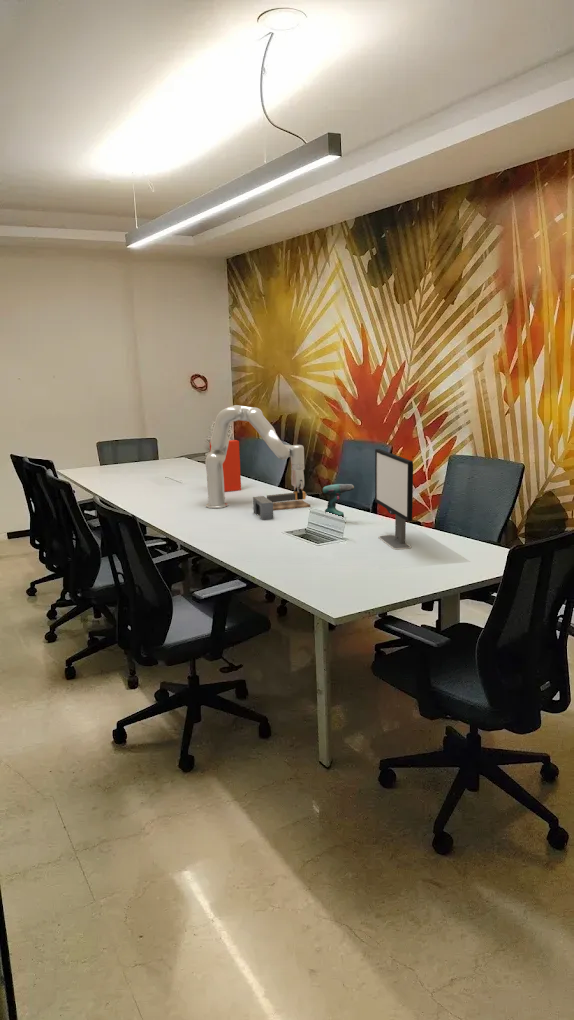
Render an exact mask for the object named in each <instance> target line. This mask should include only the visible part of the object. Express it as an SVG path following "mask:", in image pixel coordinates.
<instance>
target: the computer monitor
mask: <svg viewBox="0 0 574 1020" xmlns="http://www.w3.org/2000/svg"><path fill="white" fill-rule="evenodd" d="M374 451H375V452H374V453H375V455H374V456H375V457H374V458H375V461H374V470H375V471H374V477H375V479H374V482H375V483H374V488H375V489H374V492H375V493H374V494H375V495H374V501H375V503H376V504H378V505H380V506H381V507H383V508H384V509H386V511H387V512H388V514H390V515H395V519H394V521H395V522H394V523H395V524H394V525H395V529H394V530H395V533H394V534H387V535H386V534H385V535H379V536H378V539H379V540H380V541H382V542H383V543H384V544H386V545H387V546H388V547H390V548H391V549H393V550H397V551H398V550H407V549H411V548H412V546H411V545H410V544H408V543H407V542H406V529H407V527H406V522H413V510H414V509H413V507H414V506H413V500H414V499H413V497H414V496H413V494H414V493H413V492H414V487H413V486H414V461H413V460H409V459H408V458H404V457H402V456H399V455H397V454H394V453H391V452H389V451H386V450H383V449H381V448H375V449H374Z"/></svg>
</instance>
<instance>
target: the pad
mask: <svg viewBox="0 0 574 1020" xmlns="http://www.w3.org/2000/svg"><path fill="white" fill-rule="evenodd" d="M301 508H302V509H303V508H311V504H309V503H308V502H306V501H304V499H302V500H290V501H280V502H273V512H275V511H284V510H293V509H301Z"/></svg>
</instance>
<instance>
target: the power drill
mask: <svg viewBox="0 0 574 1020" xmlns="http://www.w3.org/2000/svg"><path fill="white" fill-rule="evenodd" d="M354 488H355V486H354V484H352V483H345V484H344V483H336V484H334V483H333V484H329V485H325V486H324V487H323V488H322V492H323V495H328V496H329V498H328V501H327V506H326V507H327V508H325V509H324V512H325V513H326V512H329V513H332V514H335V515H338V516H342V517H343V518H345V515H344V512H343V511H341V510H339V509H337V508H336V504H337V501H339V500H340V496H342V495H343V493H347V492H350V491H353V490H354Z"/></svg>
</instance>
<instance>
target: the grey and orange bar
mask: <svg viewBox="0 0 574 1020" xmlns="http://www.w3.org/2000/svg"><path fill="white" fill-rule="evenodd" d="M297 493H298V491H297V492H294V491H292V492H286V493H277V494H269V495H268V494H266V498H267V499H269V500H270V501H272V502H273V503H277V502H287V501H298V499H297ZM307 497H308V494H307V493H306V491H304V490H303V499H299V500H306V498H307Z"/></svg>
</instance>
